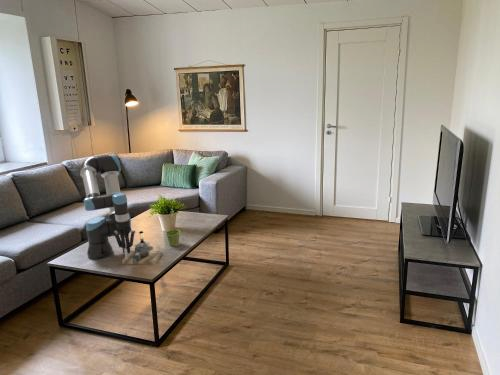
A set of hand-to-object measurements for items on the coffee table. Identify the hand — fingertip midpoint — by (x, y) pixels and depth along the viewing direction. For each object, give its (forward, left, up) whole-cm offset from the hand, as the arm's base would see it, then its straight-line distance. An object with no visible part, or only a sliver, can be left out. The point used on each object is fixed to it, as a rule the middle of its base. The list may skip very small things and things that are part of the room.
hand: (127, 257), depth 222 cm
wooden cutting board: (+6, +8, -5) cm, 11 cm away
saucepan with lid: (+6, +4, -2) cm, 8 cm away
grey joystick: (+1, +23, -5) cm, 24 cm away
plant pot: (+20, +29, -5) cm, 36 cm away
